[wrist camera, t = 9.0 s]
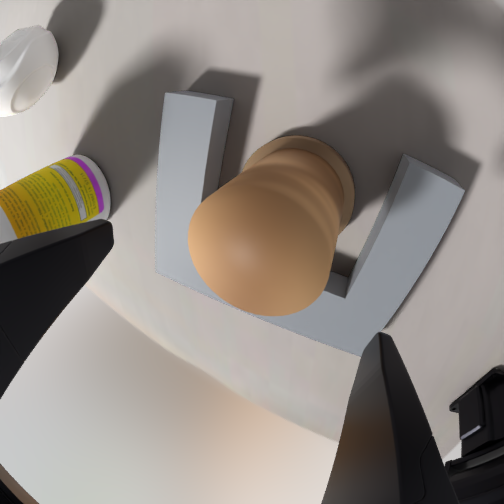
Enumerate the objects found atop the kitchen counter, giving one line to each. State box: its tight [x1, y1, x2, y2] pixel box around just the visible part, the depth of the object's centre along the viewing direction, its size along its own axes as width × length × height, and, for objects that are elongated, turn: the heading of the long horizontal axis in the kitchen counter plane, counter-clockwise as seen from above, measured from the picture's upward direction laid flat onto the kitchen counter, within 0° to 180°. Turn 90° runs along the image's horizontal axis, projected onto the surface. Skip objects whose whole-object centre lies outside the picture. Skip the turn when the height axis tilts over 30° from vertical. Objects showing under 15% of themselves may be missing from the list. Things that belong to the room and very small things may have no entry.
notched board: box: [155, 91, 465, 357], centre depth 15 cm, size 15×12×2 cm
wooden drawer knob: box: [188, 135, 355, 316], centre depth 12 cm, size 6×6×7 cm
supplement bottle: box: [0, 155, 111, 244], centre depth 16 cm, size 7×7×13 cm
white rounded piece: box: [0, 25, 59, 117], centre depth 12 cm, size 8×8×8 cm
